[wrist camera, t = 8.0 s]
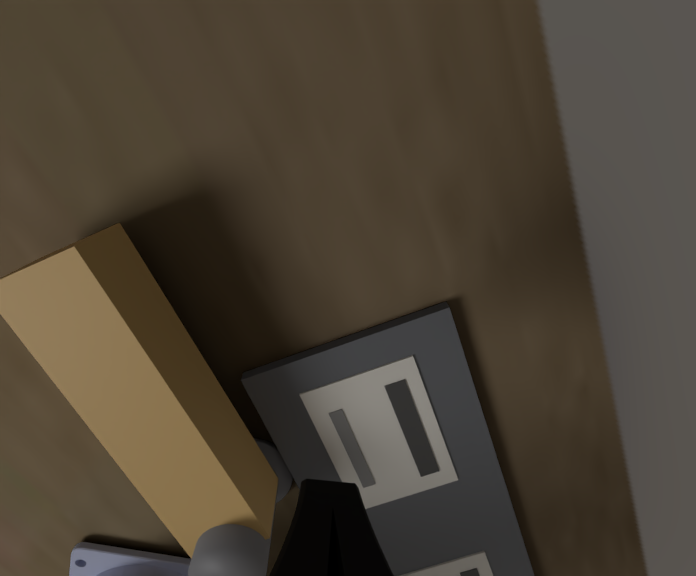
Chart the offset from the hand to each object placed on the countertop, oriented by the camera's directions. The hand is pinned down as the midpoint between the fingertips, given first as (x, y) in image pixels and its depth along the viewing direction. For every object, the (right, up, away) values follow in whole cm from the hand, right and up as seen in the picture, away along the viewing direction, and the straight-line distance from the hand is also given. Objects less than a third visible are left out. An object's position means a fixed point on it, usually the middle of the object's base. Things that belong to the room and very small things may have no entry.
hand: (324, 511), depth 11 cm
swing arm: (-6, +1, +7) cm, 10 cm away
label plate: (+3, -6, +12) cm, 14 cm away
